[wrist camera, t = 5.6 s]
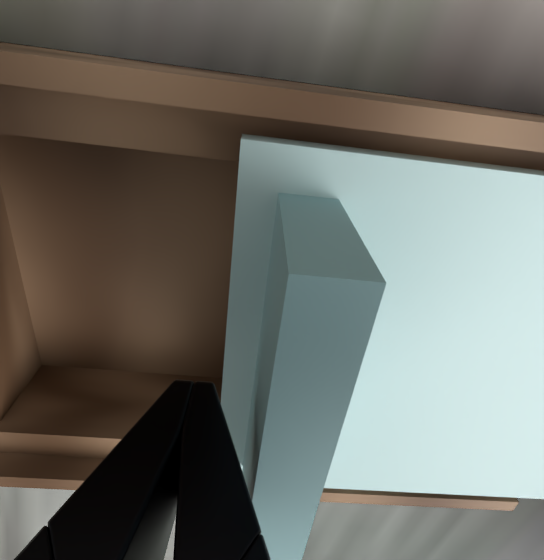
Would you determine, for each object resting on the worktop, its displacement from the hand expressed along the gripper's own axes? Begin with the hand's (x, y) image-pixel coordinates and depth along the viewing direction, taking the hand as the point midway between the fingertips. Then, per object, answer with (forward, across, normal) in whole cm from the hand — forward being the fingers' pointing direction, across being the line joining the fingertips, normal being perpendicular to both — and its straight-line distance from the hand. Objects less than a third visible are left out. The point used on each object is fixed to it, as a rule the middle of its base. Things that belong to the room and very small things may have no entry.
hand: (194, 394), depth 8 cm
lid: (+2, -9, 0) cm, 9 cm away
